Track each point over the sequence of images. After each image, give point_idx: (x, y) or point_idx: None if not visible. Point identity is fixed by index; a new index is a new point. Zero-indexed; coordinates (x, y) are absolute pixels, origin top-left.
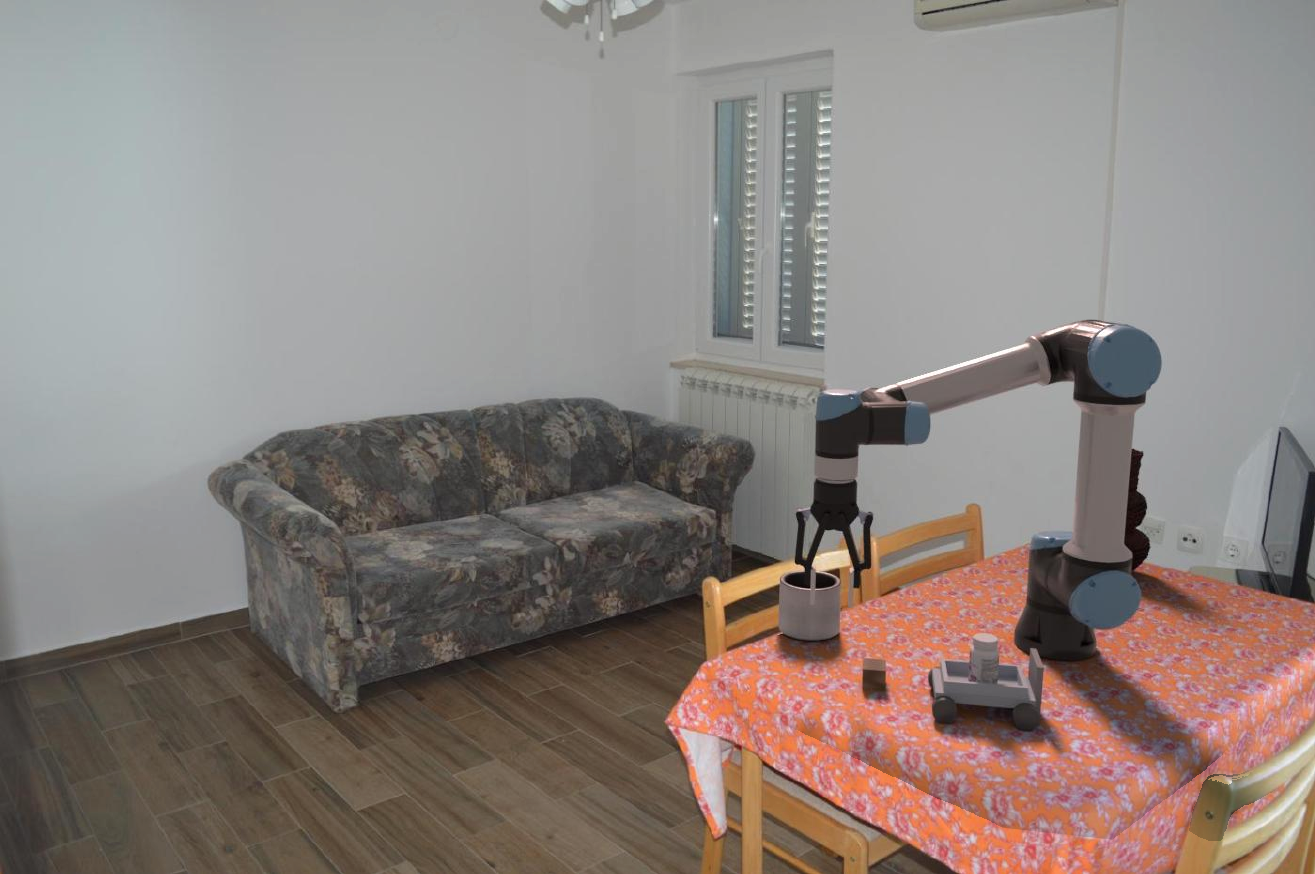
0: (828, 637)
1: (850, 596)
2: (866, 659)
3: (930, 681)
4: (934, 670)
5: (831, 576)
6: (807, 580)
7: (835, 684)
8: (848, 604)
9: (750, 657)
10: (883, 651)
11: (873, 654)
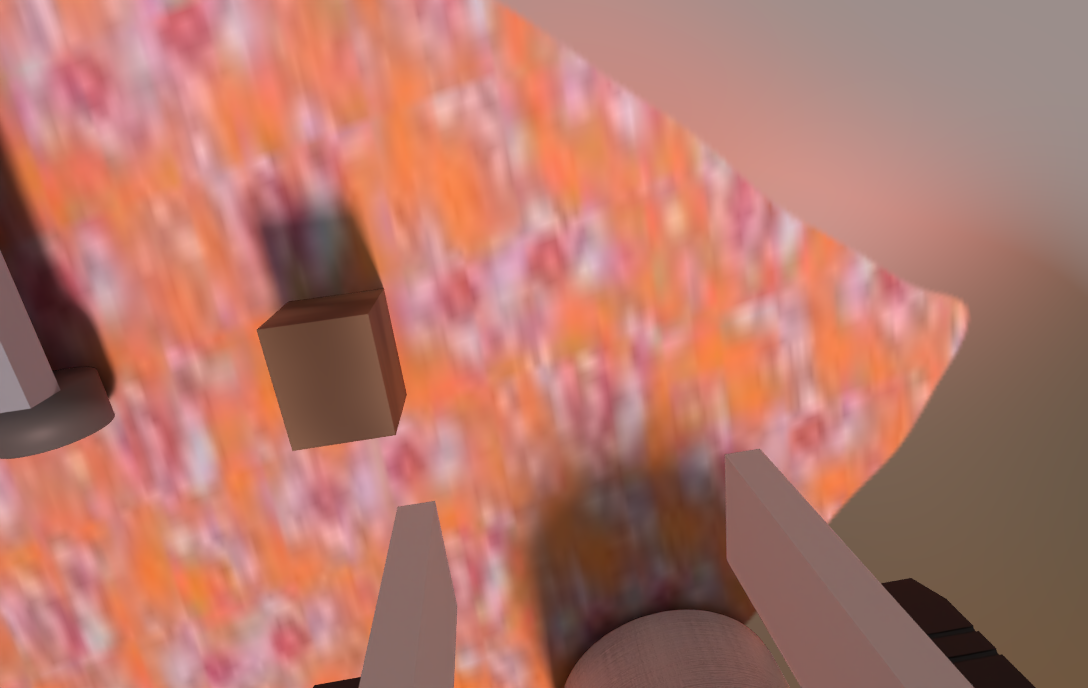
0: (590, 649)
1: (409, 573)
2: (377, 423)
3: (82, 380)
4: (9, 383)
5: None
6: (926, 625)
7: (498, 297)
8: (432, 515)
9: (848, 420)
10: None
11: None
